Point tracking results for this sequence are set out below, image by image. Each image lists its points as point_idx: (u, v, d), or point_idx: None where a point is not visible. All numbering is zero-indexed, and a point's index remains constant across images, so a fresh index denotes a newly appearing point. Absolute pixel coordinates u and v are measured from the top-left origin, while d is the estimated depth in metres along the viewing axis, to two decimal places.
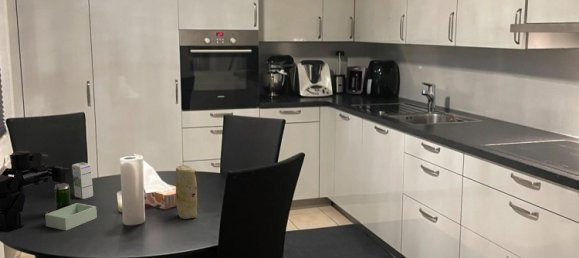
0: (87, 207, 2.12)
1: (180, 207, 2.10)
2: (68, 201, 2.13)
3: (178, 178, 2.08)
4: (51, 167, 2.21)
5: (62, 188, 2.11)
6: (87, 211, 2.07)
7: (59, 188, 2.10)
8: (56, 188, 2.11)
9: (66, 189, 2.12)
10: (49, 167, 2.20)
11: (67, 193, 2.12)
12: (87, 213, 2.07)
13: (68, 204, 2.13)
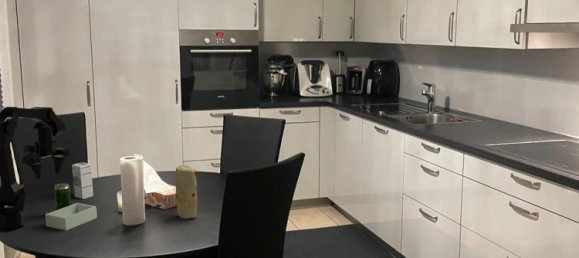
0: (87, 207, 2.12)
1: (180, 207, 2.10)
2: (68, 201, 2.13)
3: (178, 178, 2.08)
4: None
5: (62, 188, 2.11)
6: (87, 211, 2.07)
7: (59, 188, 2.10)
8: (56, 188, 2.11)
9: (66, 189, 2.12)
10: None
11: (67, 193, 2.12)
12: (87, 213, 2.07)
13: (68, 204, 2.13)
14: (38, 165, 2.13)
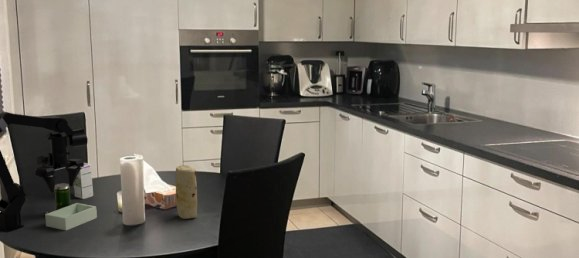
0: (87, 207, 2.12)
1: (180, 207, 2.10)
2: (68, 201, 2.13)
3: (178, 178, 2.08)
4: None
5: (62, 188, 2.11)
6: (87, 211, 2.07)
7: (59, 188, 2.10)
8: (56, 188, 2.11)
9: (66, 189, 2.12)
10: None
11: (67, 193, 2.12)
12: (87, 213, 2.07)
13: (68, 204, 2.13)
14: (52, 177, 2.05)
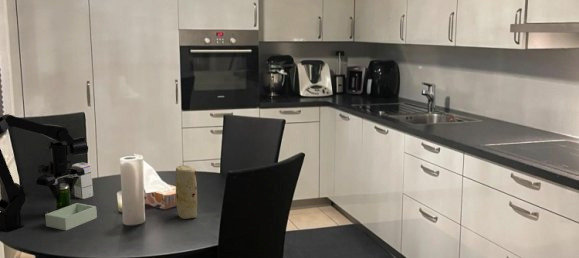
0: (87, 207, 2.12)
1: (180, 207, 2.10)
2: (68, 201, 2.13)
3: (178, 178, 2.08)
4: None
5: (62, 188, 2.11)
6: (87, 211, 2.07)
7: None
8: None
9: (66, 189, 2.12)
10: None
11: (67, 193, 2.12)
12: (87, 213, 2.07)
13: (68, 204, 2.13)
14: (56, 185, 2.07)
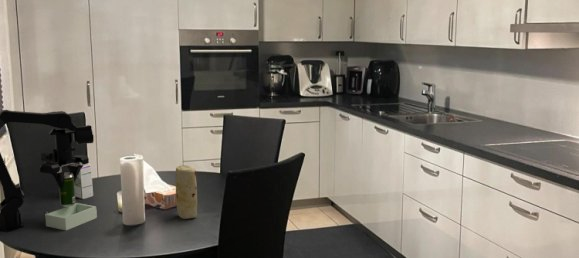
0: (87, 207, 2.12)
1: (180, 207, 2.10)
2: (72, 190, 2.07)
3: (178, 178, 2.08)
4: None
5: (66, 177, 2.05)
6: (87, 211, 2.07)
7: None
8: None
9: (70, 178, 2.06)
10: None
11: (71, 182, 2.07)
12: (87, 213, 2.07)
13: (72, 193, 2.07)
14: (61, 173, 2.01)
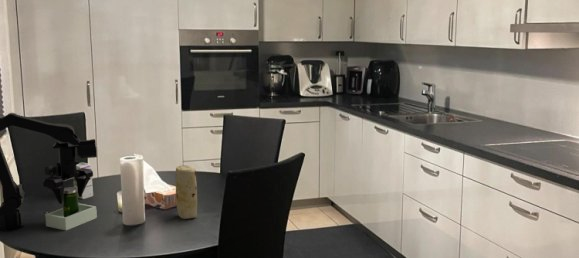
0: (87, 207, 2.12)
1: (180, 207, 2.10)
2: (76, 205, 2.05)
3: (178, 178, 2.08)
4: None
5: (70, 192, 2.03)
6: (87, 211, 2.07)
7: (67, 192, 2.03)
8: None
9: (74, 193, 2.04)
10: None
11: (75, 197, 2.04)
12: (87, 213, 2.07)
13: (76, 209, 2.05)
14: (60, 189, 1.98)
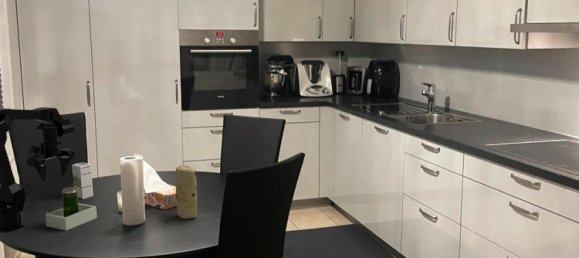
0: (87, 207, 2.12)
1: (180, 207, 2.10)
2: (76, 205, 2.05)
3: (178, 178, 2.08)
4: None
5: (70, 192, 2.03)
6: (87, 211, 2.07)
7: (67, 192, 2.03)
8: (63, 192, 2.03)
9: (74, 193, 2.04)
10: None
11: (75, 197, 2.04)
12: (87, 213, 2.07)
13: (76, 209, 2.05)
14: (43, 167, 2.10)
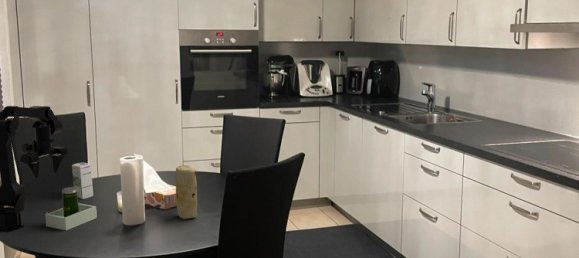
0: (87, 207, 2.12)
1: (180, 207, 2.10)
2: (76, 205, 2.05)
3: (178, 178, 2.08)
4: None
5: (70, 192, 2.03)
6: (87, 211, 2.07)
7: (67, 192, 2.03)
8: (63, 192, 2.03)
9: (74, 193, 2.04)
10: None
11: (75, 197, 2.04)
12: (87, 213, 2.07)
13: (76, 209, 2.05)
14: (36, 164, 2.15)
